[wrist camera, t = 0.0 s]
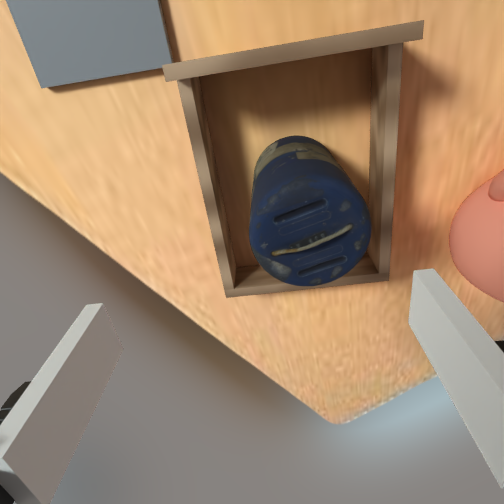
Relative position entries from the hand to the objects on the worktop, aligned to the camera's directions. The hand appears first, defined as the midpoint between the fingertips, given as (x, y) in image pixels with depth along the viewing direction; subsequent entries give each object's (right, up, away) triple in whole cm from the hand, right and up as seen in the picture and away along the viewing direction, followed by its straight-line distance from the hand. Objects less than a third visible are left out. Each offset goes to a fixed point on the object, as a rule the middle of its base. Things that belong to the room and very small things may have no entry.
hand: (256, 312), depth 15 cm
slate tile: (-16, +27, +17) cm, 36 cm away
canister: (+5, +12, +26) cm, 29 cm away
